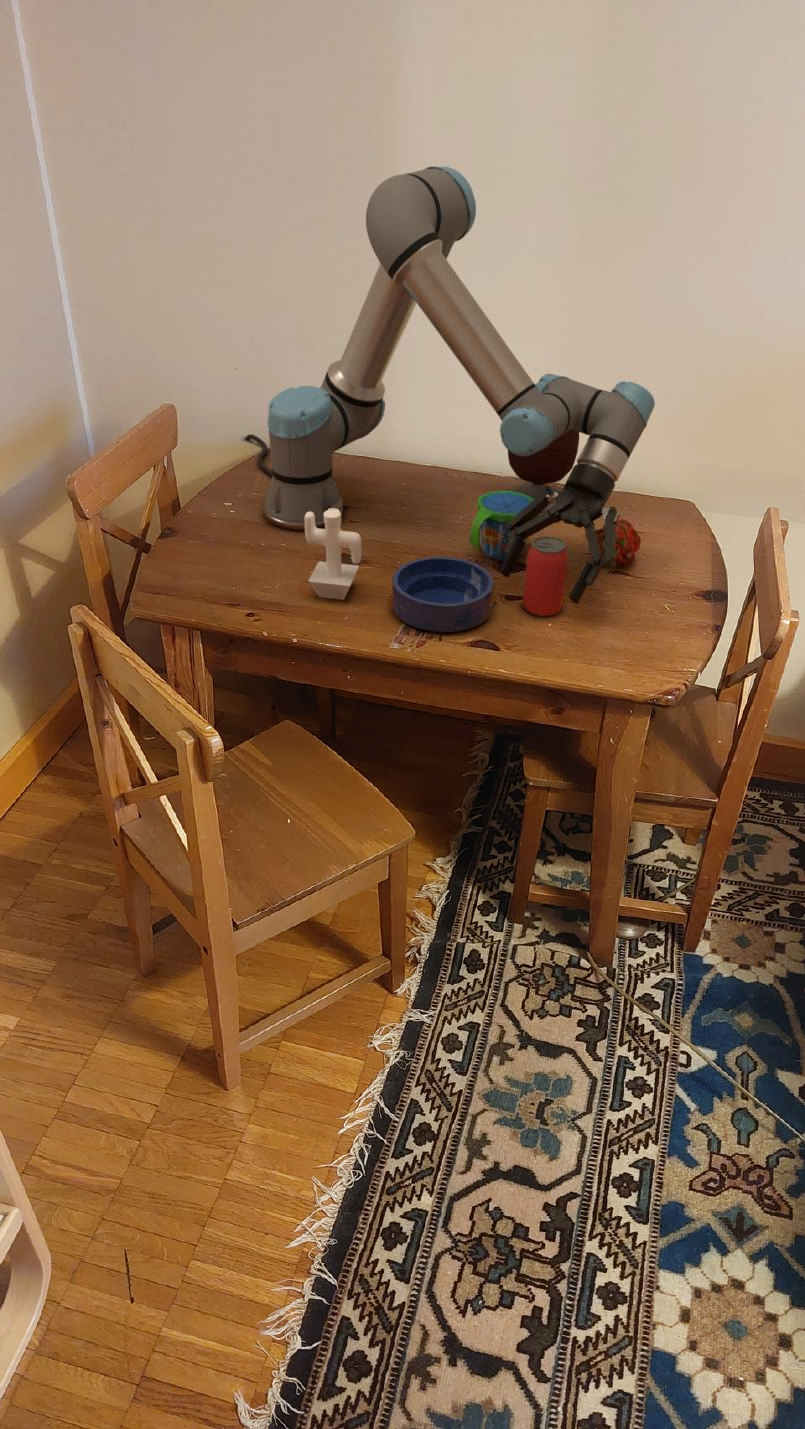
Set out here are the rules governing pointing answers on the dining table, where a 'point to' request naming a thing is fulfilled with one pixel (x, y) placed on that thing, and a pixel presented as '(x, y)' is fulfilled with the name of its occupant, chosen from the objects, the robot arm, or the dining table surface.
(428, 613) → the bowl
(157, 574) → the dining table surface
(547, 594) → the beer can
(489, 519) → the snack cup
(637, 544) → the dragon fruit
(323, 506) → the robot arm
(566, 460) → the mate gourd
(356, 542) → the figurine
